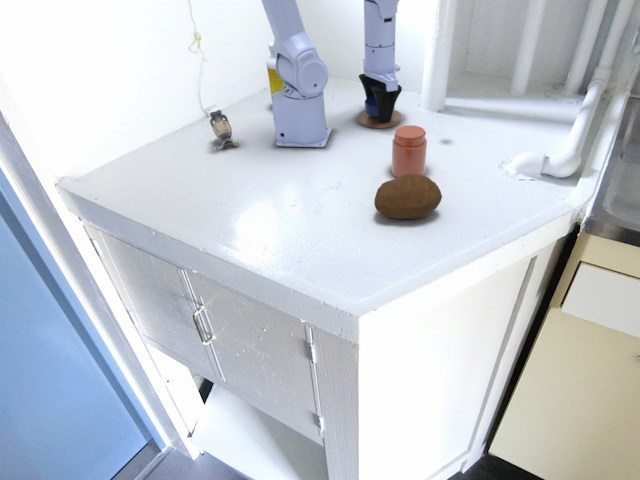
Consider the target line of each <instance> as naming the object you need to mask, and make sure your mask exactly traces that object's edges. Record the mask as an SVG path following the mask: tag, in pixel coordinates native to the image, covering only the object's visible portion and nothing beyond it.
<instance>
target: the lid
mask: <svg viewBox="0 0 640 480" xmlns="http://www.w3.org/2000/svg"><path fill="white" fill-rule="evenodd" d="M395 105H396V104H395ZM395 105H394V109H393V112H394V110H395V107H396V106H395ZM364 111H365V112H366V113H367V114H369V115H372V116H378V110H377V103H376V99H375V96H373V97H369V98H366V99H365V100H364Z"/></svg>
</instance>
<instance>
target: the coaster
mask: <svg viewBox="0 0 640 480" xmlns="http://www.w3.org/2000/svg"><path fill="white" fill-rule="evenodd" d="M402 119H403V117H402V114H401V112H399V111H398V110H395V109H394V112H393V113H392V117H391V120H390V122H386V123H380V121H379V118H378V116H372V115H369V114H367V113H366V112H365V110H364V111H362V112H360V113H359V114H358V115H357V122H358V123H359V124H360V125H361V126H363V127H365V128H370V129H387V128H392V127H395V126H397V125H399V124H400V123H401V122H402Z"/></svg>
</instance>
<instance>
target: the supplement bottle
mask: <svg viewBox="0 0 640 480" xmlns="http://www.w3.org/2000/svg"><path fill="white" fill-rule="evenodd" d="M273 44H274V40H272V41H269V43H268V50H269V53H270V55H269V56H268V58H267V59H266V62H265V63H266V69H267V76H268V83H269V90H270V97H271V101H272V100H273V95H274V93H275V92H276V91H283V87H284V81H283V80H282V79H281V78H280V77H279V76H278V74H277V72H276V67H275V63H276V56H275V51H274V49H273Z"/></svg>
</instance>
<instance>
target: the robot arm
mask: <svg viewBox="0 0 640 480" xmlns="http://www.w3.org/2000/svg"><path fill="white" fill-rule="evenodd" d="M260 1H261V3H262V6H263V9H264V12H265V15H266V18H267V21H268V23H269V27H270V28H271V31H272V32H271V33H272V34H273V37H274V40H273V41H274V44H273V49H274V51H275V56H276V63H275V67H276V72H277V74H278V76H279V77H280V78H281V79H282V80H283V81H284V87H283V91H276V92H275V93H274V95H273V100H272V99H271V111H272V117H273V124H274V131H275V138H276V142H275V143H276V146H277V147H288V148H289V147H291V148H292V147H293V148H294V147H296V148H298V147H299V148H325V147H326V145H327V144H328V140H329V138H330V136H331V133H332V131H333V130H332V128H331V127H327V121H326V108H325V95H324V90H325V88H326V86H327V84H328V81H329V70H328V67H327V65H326V63H325V62H324V61H323V60H322V59H321V58H320V56H319V55H318V54H319V53H318V51H317V48H316V46H315V44H314V43H313V41H312V40H311V38H310V37H309V35H308V34H307V32H306V29H305V26H304V22H303V20H302V19H303V18H302V17H301V16H302V15H301V13H300V11H299V7H298V4H297V1H296V0H260ZM399 1H400V0H363V27H364V28H363V30H364V31H363V34H364V35H363V36H364V58H363V62H362V63H363V67H362V68H363V73H360V74H358V78H359V80H360V82H361V84H362V86H363V90H364V94H365V98H366V99H367V98H369V97H373V96H375V99H376V103H377V110H378V118H379V121H380V123H386V122H390V120H391V117H392V113H393V109H394V110H395V107H394V105H396V103H397V101H398V98H399V96H400V94H401V93H402V90H403V86H401V85H400V84H399V79H398V78H397V72H400V71H401V66H400V65H399V64H396V63H395V62H396V61H395V60H396V25H397V24H396V23H397V22H396V21H397V13H398V5H399Z"/></svg>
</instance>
